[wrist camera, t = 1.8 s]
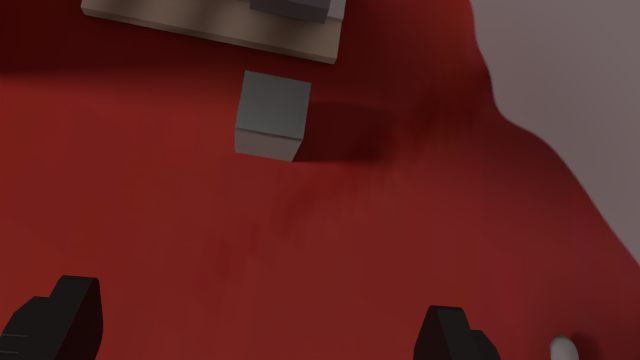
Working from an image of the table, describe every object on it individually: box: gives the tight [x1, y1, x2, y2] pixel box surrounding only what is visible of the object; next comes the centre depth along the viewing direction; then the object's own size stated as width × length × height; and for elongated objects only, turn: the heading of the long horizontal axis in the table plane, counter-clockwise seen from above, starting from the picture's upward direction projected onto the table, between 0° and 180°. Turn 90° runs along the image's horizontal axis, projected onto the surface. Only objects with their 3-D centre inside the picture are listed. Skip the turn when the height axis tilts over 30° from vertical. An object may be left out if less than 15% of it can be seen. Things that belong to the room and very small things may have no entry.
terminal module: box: [235, 70, 311, 162], centre depth 38 cm, size 4×4×7 cm
